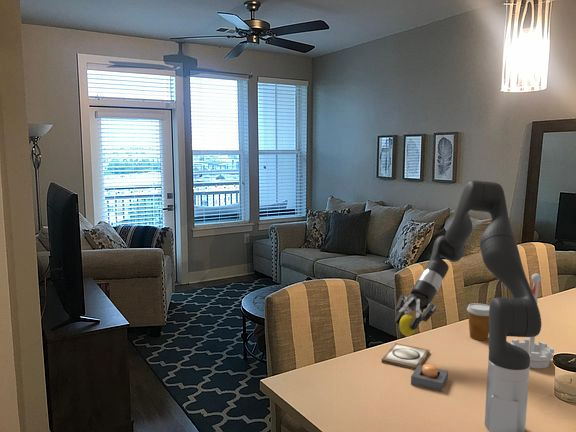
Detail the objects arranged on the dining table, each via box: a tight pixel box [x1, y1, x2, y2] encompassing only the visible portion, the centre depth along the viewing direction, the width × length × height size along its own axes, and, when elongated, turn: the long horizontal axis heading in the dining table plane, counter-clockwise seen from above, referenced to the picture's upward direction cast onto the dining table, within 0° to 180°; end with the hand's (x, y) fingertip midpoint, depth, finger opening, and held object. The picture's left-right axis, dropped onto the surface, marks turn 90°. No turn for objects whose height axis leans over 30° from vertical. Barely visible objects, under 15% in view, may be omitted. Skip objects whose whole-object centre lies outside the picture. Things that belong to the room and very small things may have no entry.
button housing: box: [410, 365, 449, 392], centre depth 142 cm, size 9×9×2 cm
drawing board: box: [381, 343, 431, 371], centre depth 160 cm, size 16×12×1 cm
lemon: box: [398, 313, 417, 338], centre depth 158 cm, size 6×6×8 cm
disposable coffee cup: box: [466, 302, 490, 341], centre depth 177 cm, size 10×10×12 cm
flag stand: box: [509, 273, 555, 369], centre depth 155 cm, size 13×13×30 cm
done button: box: [422, 363, 439, 378], centre depth 142 cm, size 4×4×2 cm
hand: (404, 326), depth 157 cm, fingers closed on lemon, 5 cm apart
